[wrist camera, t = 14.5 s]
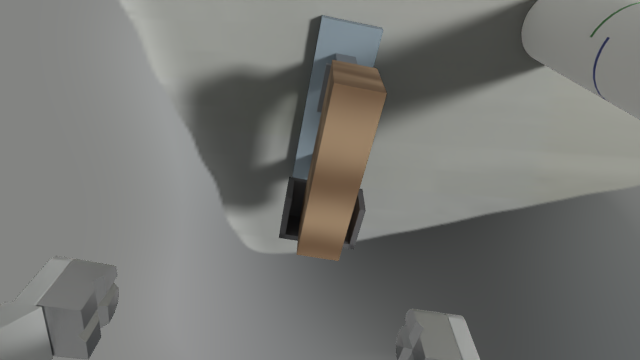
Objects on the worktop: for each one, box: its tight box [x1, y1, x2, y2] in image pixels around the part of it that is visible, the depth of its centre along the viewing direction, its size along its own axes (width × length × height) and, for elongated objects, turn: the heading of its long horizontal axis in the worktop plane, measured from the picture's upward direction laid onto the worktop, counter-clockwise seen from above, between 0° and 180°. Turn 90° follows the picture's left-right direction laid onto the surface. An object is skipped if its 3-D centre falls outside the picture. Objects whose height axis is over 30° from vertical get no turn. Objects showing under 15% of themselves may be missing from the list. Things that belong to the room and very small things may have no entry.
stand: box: [279, 15, 383, 249], centre depth 39 cm, size 18×7×13 cm, turn 169°
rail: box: [297, 60, 387, 261], centre depth 33 cm, size 15×4×6 cm, turn 169°
